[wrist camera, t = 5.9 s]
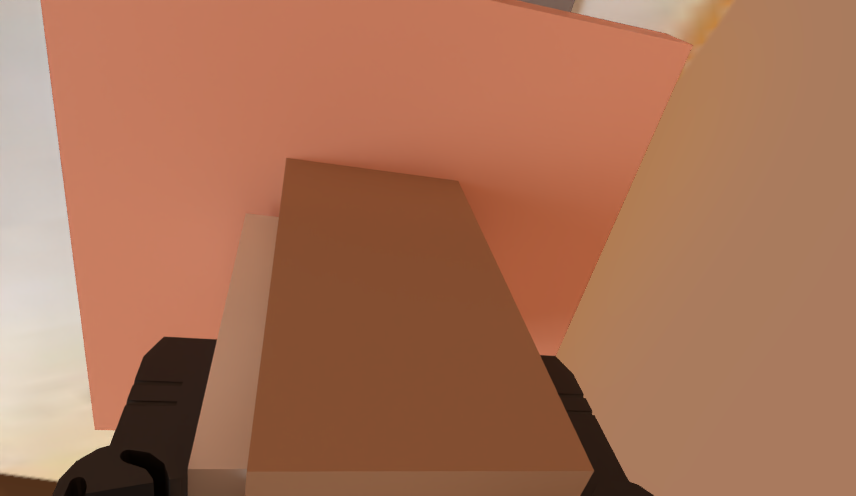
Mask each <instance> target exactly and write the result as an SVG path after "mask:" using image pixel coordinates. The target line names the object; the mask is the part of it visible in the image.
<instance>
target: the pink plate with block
mask: <svg viewBox="0 0 856 496" xmlns="http://www.w3.org/2000/svg"><path fill="white" fill-rule="evenodd" d="M41 7H42V15H43V23H44V31H45V39H46V47H47V55H48V63H49V70H50V78H51V86H52V94H53V102H54V110H55V118H56V126H57V134H58V142H59V150H60V157H61V165H62V173H63V181H64V189H65V197H66V205H67V213H68V221H69V229H70V236H71V244H72V252H73V260H74V268H75V276H76V284H77V292H78V300H79V308H80V316H81V323H82V331H83V339H84V347H85V355H86V363H87V371H88V379H89V387H90V395H91V403H92V410H93V418H94V426H95V430H116V428H117V425H118V422H119V420H120V417H121V415H122V412H123V409H124V407H125V405H126V404H127V399H128V396H129V393H130V391H131V388H132V385H134V380H135V377H136V375H137V372H138V369H139V367H140V364H141V361H142V359H143V356H144V355H145V354H146V353H147V352H148V351H149V350H150V349H152V348H153V347H154V346H155V345H156V344H157V343H158V342H159V341H160V340H161V339H162V338H163V337H182V338H200V339H217V338H218V333H219V329H220V325H221V320H222V316H223V312H224V307H225V303H226V298H227V294H228V290H229V285H230V281H231V276H232V272H233V268H234V263H235V259H236V255H237V250H238V246H239V241H240V237H241V233H242V228H243V224H244V219H245V215H246V214H256V215H265V216H274V217H279V220H278V228H277V235H276V243H275V251H274V259H273V267H272V275H271V283H270V291H269V299H268V307H267V315H266V322H265V330H264V338H263V346H262V354H261V362H260V370H259V378H258V386H257V394H256V402H255V409H254V417H253V425H252V433H251V441H250V449H249V457H248V465H247V473H246V486H245V496H580V495H581V493H582V492H583V490H584V488H585V486H586V484H587V483H588V481H589V479H590V477H591V476H592V474H593V472H594V469H593V467H592V465H591V463H590V461H589V459H588V457H587V454H586V452H585V450H584V448H583V446H582V444H581V442H580V440H579V437H578V435H577V433H576V431H575V429H574V427H573V425H572V422H571V420H570V418H569V416H568V414H567V412H566V410H565V408H564V405H563V403H562V401H561V399H560V397H559V395H558V393H557V390H556V388H555V386H554V384H553V382H552V380H551V378H550V376H549V373H548V371H547V369H546V367H545V365H544V363H543V361H542V359H541V356H540V355H548V356H556V354H557V352H558V350H559V348H560V345H561V343H562V341H563V339H564V336H565V334H566V332H567V329H568V327H569V325H570V323H571V320H572V318H573V316H574V313H575V311H576V309H577V307H578V305H579V302H580V300H581V298H582V296H583V293H584V291H585V289H586V286H587V284H588V282H589V280H590V277H591V275H592V273H593V270H594V268H595V266H596V264H597V262H598V259H599V257H600V254H601V252H602V250H603V248H604V246H605V243H606V241H607V239H608V236H609V234H610V232H611V230H612V228H613V225H614V223H615V221H616V218H617V216H618V214H619V212H620V209H621V207H622V205H623V203H624V200H625V198H626V196H627V194H628V191H629V189H630V186H631V184H632V182H633V180H634V178H635V175H636V173H637V171H638V169H639V166H640V164H641V162H642V160H643V157H644V155H645V152H646V150H647V148H648V146H649V144H650V141H651V139H652V137H653V135H654V132H655V130H656V128H657V125H658V123H659V121H660V119H661V116H662V114H663V112H664V110H665V107H666V105H667V103H668V101H669V98H670V96H671V94H672V92H673V89H674V87H675V85H676V83H677V80H678V78H679V76H680V73H681V71H682V69H683V67H684V64H685V62H686V60H687V58H688V55H689V53H690V51H691V49H692V46H693V45H692V44H689V43H687V42H684V41H682V40H680V39H677V38H675V37H673V36H670V35H668V34H666V33H661V32H657V31H652V30H648V29H643V28H639V27H634V26H630V25H625V24H621V23H616V22H612V21H608V20H603V19H599V18H594V17H590V16H585V15H581V14H576V13H572V12H567V11H563V10H558V9H554V8H549V7H545V6H540V5H536V4H531V3H527V2H523V1H518V0H41Z"/></svg>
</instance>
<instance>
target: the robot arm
mask: <svg viewBox="0 0 856 496" xmlns="http://www.w3.org/2000/svg"><path fill="white" fill-rule="evenodd" d="M278 220H279V217H274V216H265V215H256V214H246V215H245V219H244V224H243V228H242V233H241V237H240V241H239V246H238V250H237V255H236V259H235V263H234V268H233V272H232V276H231V281H230V285H229V290H228V294H227V298H226V303H225V307H224V312H223V316H222V320H221V325H220V329H219V333H218V338H217V339H200V338H182V337H163V338H162V339H161V340H160V341H159V342H158V343H157V344H156V345H155V346H154V347H153V348H152V349H150V350H149V351H148V352H147V353H146V354H145V355H144V356H143V359H142V361H141V364H140V367H139V369H138V372H137V375H136V377H135V380H134V385H132V388H131V391H130V393H129V396H128V399H127V404H126V405H125V407H124V409H123V412H122V415H121V417H120V420H119V422H118V425H117V428H116V430H115V433H114V436H113V438H112V441H111V444H110V446H106V447H102V448H99V449H97V450H95V451H93V452H92V453H90V454H88V455H86V456H85V457H83V458H81V459H80V460H78V461H76V462H75V463H74V464H73V465H72V466H71V467H70V468H69V470H68V471H67V472H66V473H65V474H64V475H63V476H62V477H61V478H60V479H59V481H58V483H57V486H56V488H55V490H54V493H53V495H52V496H245V486H246V473H247V465H248V457H249V449H250V441H251V433H252V425H253V417H254V409H255V402H256V394H257V386H258V378H259V370H260V362H261V354H262V346H263V338H264V330H265V322H266V315H267V307H268V299H269V291H270V283H271V275H272V267H273V259H274V251H275V243H276V235H277V228H278ZM540 356H541V359H542V361H543V363H544V365H545V367H546V369H547V371H548V373H549V376H550V378H551V380H552V382H553V384H554V386H555V388H556V390H557V393H558V395H559V397H560V399H561V401H562V403H563V405H564V408H565V410H566V412H567V414H568V416H569V418H570V420H571V422H572V425H573V427H574V429H575V431H576V433H577V435H578V437H579V440H580V442H581V444H582V446H583V448H584V450H585V452H586V454H587V457H588V459H589V461H590V463H591V465H592V467H593V469H594V472H593V474H592V476H591V477H590V479H589V481H588V483H587V484H586V486H585V488H584V490H583V492H582V493H581V495H580V496H653V495H652V494H651V493H649V492H648V491H646V490H645V489H643V488H642V487H640V486H639V485H637V484H634V483H631V482H629V480H628V479H627V477H626V475H625V473H624V471H623V470H622V468H621V466H620V464H619V462H618V460H617V458H616V456H615V454H614V452H613V450H612V448H611V447H610V445H609V443H608V441H607V439H606V437H605V435H604V433H603V431H602V429H601V427H600V425H599V423H598V421H597V419H596V418H595V416H594V415H592V410H591V408H590V406H589V404H588V402H587V400H586V399H585V398H583V392H582V390H581V388H580V387H579V385H578V383H577V381H576V379H575V377H574V375H573V374H572V372H571V371H569V370H568V369H567V367H566V366H565V365H564V364H562V362H560V360H559V359H557V357H556V356H548V355H540Z"/></svg>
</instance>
